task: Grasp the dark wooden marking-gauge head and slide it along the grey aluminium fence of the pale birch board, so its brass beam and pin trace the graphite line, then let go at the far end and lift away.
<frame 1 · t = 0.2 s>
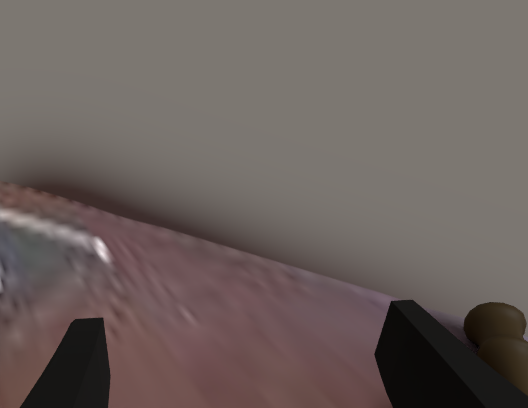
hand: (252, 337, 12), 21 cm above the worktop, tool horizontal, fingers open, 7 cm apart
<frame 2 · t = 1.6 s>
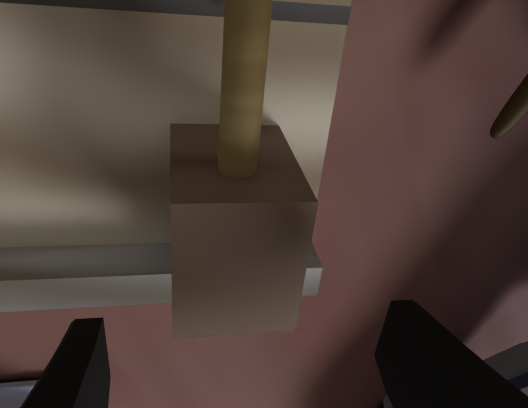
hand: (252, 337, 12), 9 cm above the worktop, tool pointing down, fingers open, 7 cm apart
gauge: (222, 184, 18), point 1 cm above the worktop, touching board
gun: (507, 307, 28), on the worktop
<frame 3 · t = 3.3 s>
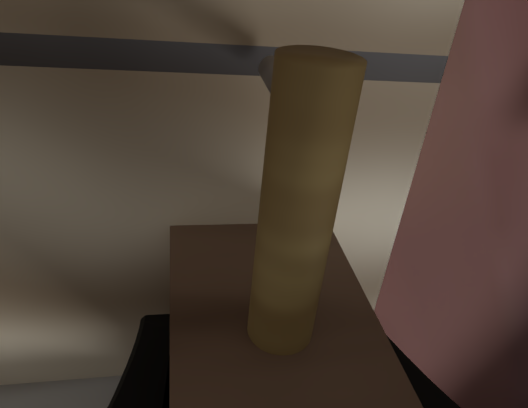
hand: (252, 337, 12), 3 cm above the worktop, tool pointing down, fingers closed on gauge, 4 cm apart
gauge: (244, 298, 13), point 1 cm above the worktop, touching board, gripper
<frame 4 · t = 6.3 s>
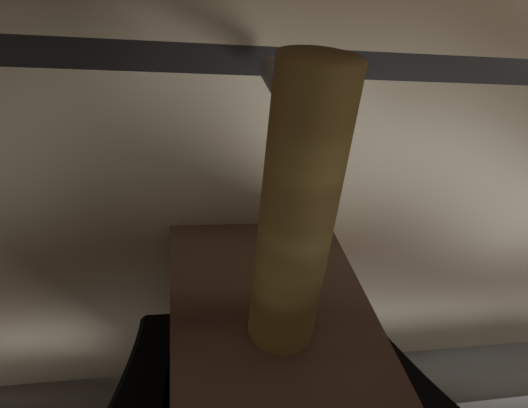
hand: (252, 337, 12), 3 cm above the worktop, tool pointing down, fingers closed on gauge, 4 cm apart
board: (283, 201, 13), on the worktop
gauge: (245, 298, 13), point 2 cm above the worktop, touching gripper
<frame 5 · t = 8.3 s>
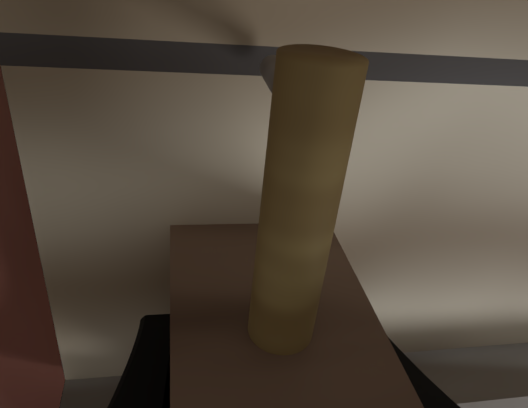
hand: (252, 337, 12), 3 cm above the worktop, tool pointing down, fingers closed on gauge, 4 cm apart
board: (523, 198, 15), on the worktop
gauge: (245, 298, 13), point 2 cm above the worktop, touching board, gripper
when the fingers open (3 cm above the worktop, at t = 9.4 s): gauge stays where it is, resting on board.
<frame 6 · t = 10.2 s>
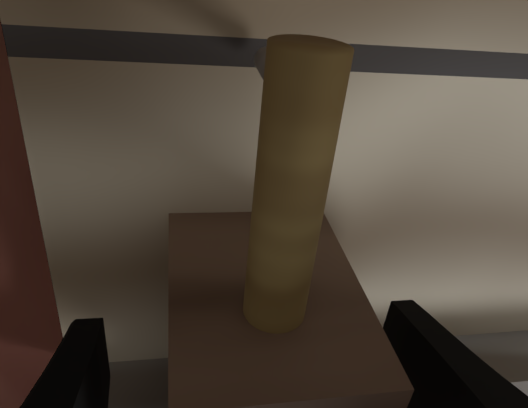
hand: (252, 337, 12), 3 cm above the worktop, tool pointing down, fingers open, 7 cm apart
board: (514, 190, 15), on the worktop
gauge: (241, 285, 13), point 1 cm above the worktop, touching board
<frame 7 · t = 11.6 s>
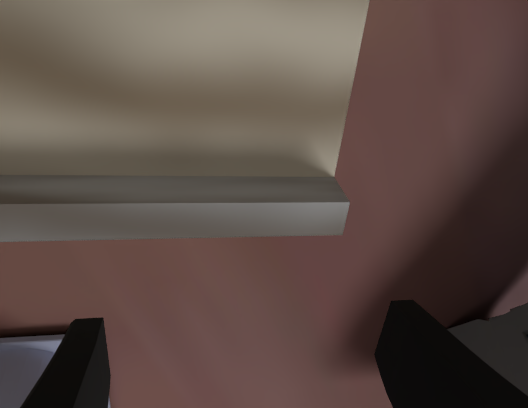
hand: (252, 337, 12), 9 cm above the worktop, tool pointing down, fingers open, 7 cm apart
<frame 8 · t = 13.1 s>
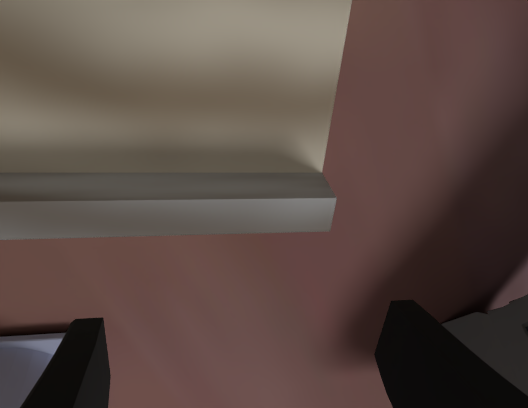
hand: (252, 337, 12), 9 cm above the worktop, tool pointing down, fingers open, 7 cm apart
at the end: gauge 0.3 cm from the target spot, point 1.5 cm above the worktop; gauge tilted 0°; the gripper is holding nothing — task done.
